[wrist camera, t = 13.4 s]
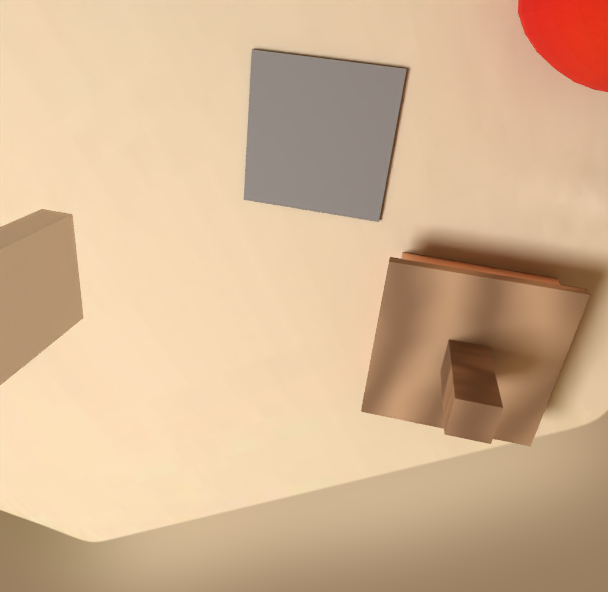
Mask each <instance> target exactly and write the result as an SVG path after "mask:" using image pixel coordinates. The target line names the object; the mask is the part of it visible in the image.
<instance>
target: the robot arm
mask: <svg viewBox="0 0 608 592" xmlns="http://www.w3.org/2000/svg"><path fill="white" fill-rule="evenodd" d="M81 319H83V310H82V301H81V291H80V282H79V272H78V263H77V254H76V244H75V235H74V225H73V216H72V214H67V213H61V212H56V211H50V210H44V209H41V210H39V211H37V212H34V213H32V214H30V215H27V216H25V217H23V218H20V219H18V220H16V221H14V222H11V223H9V224H7V225H4V226H2V227H0V385H1V384H2V383H4V382H5V381H6V380H7V379H8V378H10V377H11V376H12V375H13V374H15V373H16V372H17V371H18V370H20V369H21V368H22V367H23V366H25V365H26V364H27V363H28V362H29V361H31V360H32V359H33V358H34V357H36V356H37V355H38V354H39V353H41V352H42V351H43V350H44V349H46V348H47V347H48V346H49V345H50V344H52V343H53V342H54V341H55V340H57V339H58V338H59V337H60V336H62V335H63V334H64V333H65V332H66V331H68V330H69V329H70V328H71V327H73V326H74V325H75V324H76V323H78V322H79V321H80V320H81Z"/></svg>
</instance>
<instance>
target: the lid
mask: <svg viewBox="0 0 608 592" xmlns="http://www.w3.org/2000/svg"><path fill="white" fill-rule="evenodd" d="M589 297H590V293H589V292H588V291H587V289H582V288H576V287H570V286H564V285H558V284H552V283H546V282H540V281H533V280H527V279H521V278H515V277H509V276H503V275H497V274H491V273H485V272H478V271H472V270H466V269H460V268H454V267H448V266H442V265H436V264H430V263H424V262H417V261H411V260H405V259H399V258H393V257H390V260H389V265H388V270H387V276H386V281H385V286H384V292H383V297H382V302H381V308H380V313H379V318H378V324H377V329H376V334H375V340H374V345H373V350H372V356H371V361H370V366H369V372H368V377H367V382H366V388H365V393H364V398H363V404H362V410H361V412H366V413H371V414H376V415H381V416H385V417H390V418H395V419H400V420H405V421H410V422H415V423H419V424H424V425H429V426H434V427H439V428H444V431H445V434H446V435H450V436H455V437H460V438H465V439H470V440H475V441H479V442H484V443H489V444H491V442H492V439H497V440H502V441H507V442H512V443H517V444H522V445H527V446H531V444H532V441H533V439H534V436H535V434H536V431H537V429H538V426H539V424H540V421H541V418H542V416H543V413H544V411H545V408H546V406H547V403H548V401H549V398H550V396H551V393H552V391H553V388H554V386H555V383H556V381H557V378H558V376H559V373H560V370H561V368H562V365H563V363H564V360H565V358H566V355H567V353H568V350H569V348H570V345H571V343H572V340H573V338H574V335H575V333H576V330H577V328H578V325H579V322H580V320H581V317H582V315H583V312H584V310H585V307H586V305H587V302H588V300H589Z"/></svg>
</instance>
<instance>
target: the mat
mask: <svg viewBox="0 0 608 592" xmlns="http://www.w3.org/2000/svg"><path fill="white" fill-rule="evenodd" d="M406 71H407V69H406V68H398V67H390V66H382V65H374V64H366V63H358V62H350V61H342V60H334V59H326V58H318V57H310V56H302V55H294V54H286V53H278V52H269V51H261V50H253V49H252V57H251V76H250V94H249V113H248V132H247V151H246V169H245V188H244V200H249V201H255V202H261V203H267V204H273V205H280V206H286V207H292V208H298V209H304V210H310V211H316V212H322V213H328V214H334V215H340V216H346V217H352V218H359V219H365V220H371V221H377V222H379V219H380V214H381V208H382V203H383V197H384V192H385V186H386V181H387V175H388V170H389V164H390V159H391V153H392V148H393V142H394V137H395V131H396V126H397V120H398V115H399V109H400V104H401V98H402V93H403V87H404V82H405V76H406Z"/></svg>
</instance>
